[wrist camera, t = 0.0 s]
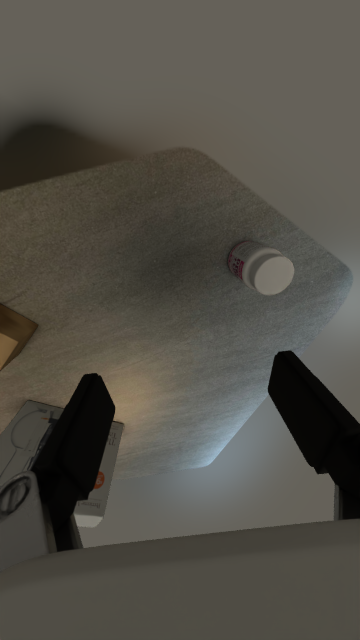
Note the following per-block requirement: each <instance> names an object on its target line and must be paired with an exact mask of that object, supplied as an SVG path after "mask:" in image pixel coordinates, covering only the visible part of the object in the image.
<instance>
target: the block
mask: <svg viewBox="0 0 360 640" xmlns="http://www.w3.org/2000/svg"><path fill="white" fill-rule="evenodd" d="M37 327H38V325H37V324H36V323H34V322H32V321H30V320H28V319H27V318H25V317H23V316H21V315H19V314H18V313H16V312H14V311H12V310H11V309H9V308H7V307H5V306H3V305H2V304H0V371H1V370H2V369H3V368H4V367H5V366H7V365H8V364H9V363H10V362H11V361H12V360H13V359H14V358H15V357H16V356H17V355H18V354H19V353H20V352H21V350H22V349H23V347H24V346H25V345H26V343H27V342H28V340H29V339H30V337H31V336H32V334H33V333H34V331H35V330H36V329H37Z"/></svg>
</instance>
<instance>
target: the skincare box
mask: <svg viewBox="0 0 360 640" xmlns="http://www.w3.org/2000/svg"><path fill="white" fill-rule="evenodd" d="M63 410H64V409H62V408H58V407H54V406H50V405H46V404H42V403H38V402H34V401H30V400H28V401H27V402H26V403H25V404H24V406H23V407H22V408H21V409H20V411H19V412H18V413H17V415H16V416H15V417H14V418H13V420H12V421H11V422H10V423H9V425H8V426H7V427H6V429H5V430H4V431H3V432H2V434H1V435H0V487H1V486H2V485H3V484H4V483H5V482H6V481H8V480H9V479H10V478H11V477H13V476H15V475H16V474H18V473H20V472H23V471H31V469H32V467H33V466H34V464H35V462H36V460H37V458H38V456H39V454H40V453H41V451H42V449H43V447H44V445H45V443H46V442H47V440H48V438H49V436H50V434H51V432H52V431H53V429H54V427H55V425H56V423H57V421H58V419H59V418H60V416H61V414H62V412H63ZM123 426H124V424H120V423H116V422H112V425H111V429H110V432H109V436H108V440H107V443H106V447H105V451H104V454H103V458H102V462H101V465H100V469H99V472H98V476H97V480H96V483H95V487H94V489H93V490H92V491H91V492H90V493H89V497H88V500H83V501H77V503H76V506H75V510H74V516H75V520H76V524H77V526H81V527H96V526H97V525H98V523H99V522H100V521H101V520H102V519H103V517H104V514H105V509H106V504H107V499H108V495H109V489H110V485H111V481H112V476H113V472H114V467H115V462H116V458H117V453H118V449H119V444H120V439H121V435H122V430H123Z"/></svg>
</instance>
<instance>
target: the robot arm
mask: <svg viewBox="0 0 360 640" xmlns="http://www.w3.org/2000/svg"><path fill="white" fill-rule="evenodd" d="M268 393H269V395H270V397H271V399H272V401H273V402H274V404H275V406H276V408H277V409H278V411H279V413H280V415H281V416H282V418H283V420H284V422H285V424H286V425H287V427H288V429H289V431H290V433H291V434H292V436H293V438H294V440H295V441H296V443H297V445H298V447H299V449H300V450H301V452H302V453H303V456H304V458H305V459H306V461H307V462H308V464H309V465H310V466H311V467H314V469H315V471H316V472H317V474H324V473H329V475H330V476H331V478H332V480H333V481H334V483H335V493H334V521H324V522H313V523H304V524H293V525H284V526H274V527H265V528H255V529H247V530H237V531H228V532H219V533H210V534H201V535H192V536H183V537H173V538H164V539H156V540H147V541H138V542H130V543H121V544H113V545H104V546H97V547H89V548H83V545H82V541H81V538H80V534H79V531H78V527H77V524H76V520H75V516H74V510H75V506H76V503H77V501H83V500H88V497H89V493H90V492H91V491H92V490H93V489H94V487H95V483H96V480H97V476H98V472H99V469H100V465H101V462H102V458H103V454H104V451H105V447H106V443H107V440H108V436H109V432H110V429H111V425H112V421H113V418H114V414H115V405H114V403H113V401H112V399H111V397H110V394H109V392H108V390H107V388H106V386H105V384H104V382H103V379H102V377H101V376H100V375H99V376H98V374H97V373H92V374H85V375H83V377H82V379H81V381H80V382H79V384H78V386H77V388H76V390H75V392H74V394H73V395H72V397H71V399H70V401H69V403H68V404H67V405H66V407H65V408H64V410H63V412H62V414H61V416H60V418H59V419H58V421H57V423H56V425H55V427H54V429H53V431H52V432H51V434H50V436H49V438H48V440H47V442H46V443H45V445H44V447H43V449H42V451H41V453H40V454H39V456H38V458H37V460H36V462H35V464H34V466H33V467H32V469H31V471H23V472H20V473H18V474H16V475H15V476H13V477H11V478H10V479H9V480H8V481H6V482H5V483H4V484H3V485H2V486H1V487H0V640H360V424H359V423H358V422H357V420H356V419H355V418H354V417H353V416H352V415H351V414H350V413H349V412H348V411H347V410H346V408H345V407H344V406H343V405H342V404H341V403H340V402H339V401H338V400H337V399H336V398H335V397H334V395H333V394H332V393H331V392H330V391H329V390H328V389H327V388H326V387H325V386H324V384H322V382H321V381H320V380H319V379H318V378H317V377H316V376H314V375H313V374H312V372H311V371H310V370H309V369H308V368H307V367H306V366H305V365H304V364H303V363H302V362H301V360H300V359H299V358H298V357H297V356H296V355H295V354H294V353H293V352H292V351H281V352H278V354H277V355H275V357H274V362H273V366H272V371H271V376H270V380H269V385H268Z"/></svg>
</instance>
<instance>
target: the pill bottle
mask: <svg viewBox="0 0 360 640" xmlns="http://www.w3.org/2000/svg"><path fill="white" fill-rule="evenodd" d="M228 266H229V269H230V270H231V272H232V273H233V274H234V275H235V276H236V277H238V278H239V279H240V280H241V281H242V282H243V283H244V284H245V285H246V286H247V287H249V288H251V289H253V290H257V291H258V292H260V293H261V294H264V295H274V294H277V293H279V292H281V291H282V290H284V289H285V288H286V287H287V286H288V285H289V284H290V282H291V280H292V278H293V275H294V266H293V263H292V262H291V261H290V260H289V259H288V258H286V257H284V256H283V255H282V254H281V253H280V252H279V251H278V250H276V249H274V248H271V247H268V246H265V245H262V244H259V243H256V242H253V241H245V242H241V243H239V244H238V245H236V246H235V247H234V248H233V249H232V251H231V252H230V255H229V258H228Z"/></svg>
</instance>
